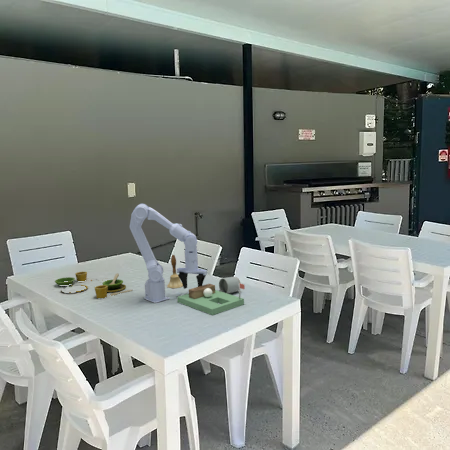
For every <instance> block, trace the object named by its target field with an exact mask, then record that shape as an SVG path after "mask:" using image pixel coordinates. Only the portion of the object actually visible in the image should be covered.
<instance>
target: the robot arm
mask: <svg viewBox="0 0 450 450" xmlns="http://www.w3.org/2000/svg"><path fill="white" fill-rule="evenodd" d="M130 216H131V217H130V221H129V230H130V232H131V234H132V236H133V238H134V242H135V243H136V245H137V247H138V250H139V252H140V253H141V256H142V259H143V260H144V263H145V266H146V270H147V273H148V275H147V277H148V279H147V280H146V281H145V284H144V295H145V296H144V297H143V299H144V300H147V301H148V302H152V303H153V304H156V303H160V302H164V301H166V300H169V299H170V297H168V296H166V286H165V285H166V284H165V278H164V276H163V274H164V267H163V266H162V265H161V264H160V263H159V262H158V260H157V258H156V257H155V254H154V252H153V250H152V247H151V245H150V243H149V241H148V238H147V237H146V234H145V233H144V230H143V228H142V226H143V223H144V221H145V220H146V219H147V220H149V221H156V222H157V223H158V224H160V225H161V226H163V227H164V228H166V229H167V230H169V234H170V235H171V236H172V237H174V238H175V239H177V240H178V241H179V242H182V243H183V245H184V265H185V266H184V267H178V268H176V274H177V275H178V276H179V278H180V281H181V282H182V284H183V289H184V290H186V289H187V288H188V274H192V275H196V276H195V278H196V280H197V287H199V286H203V285H204V281H205V278H206V276H207V275H208V270H207V269H201V268H199V263H198V259H199V258H198V246H197V245H198V239H197V236H196V234H194V233H193V232H191V230H187V229H186V228H184V227H183V224H181V223H173V222H171V221H170V220H169V219H167V218H166V217H165V216H164V215H162V213H159V212H158V211H157V210H155V209H154V208H152V207H150V206H148V205H147V204H146V203H139V204H138V205H136V206H135V208H134V209H133V211H132V213H131V214H130Z"/></svg>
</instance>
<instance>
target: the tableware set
mask: <svg viewBox="0 0 450 450" xmlns="http://www.w3.org/2000/svg"><path fill="white" fill-rule="evenodd" d="M87 274H88V272H87V271H79V272H78V271H77V272H76V273H74V275H75V277H71V276H69V277H66V276H65V277H60V278H57V279H55V280H54V283H55V284H56V285H57V286H58V285H69V284H72V283H73V284H74V282H75V281H85V280H86V281H87V279H88V277H87V276H88V275H87ZM118 277H120V275H119V273H118V272H117V273H115V274H114V277H113V279H110V280H107V281H103V282H101V283H102V284H101V285H96V287H95V286H94V292H95V296H96V299H98V298H103V299H106V298H107V297H108V293H107V292H113V293H109V294H110V295H111V296H110V295H109V296H110V297H113V295H114V296H117V295H119V294H120V293H121V294H125V293H129V292H133V291H134V290H133V289H127V290H125V289H126V287H127V285H126V284H124V280H123V279H118ZM64 281H68V282H64ZM73 284H72V285H73ZM80 285H81V286H85V287H86V289H84V290H85V291H87V290H88V288H89V286H88V285H86V284H80ZM84 290H81V291H83V292H85V291H84ZM118 291H119V292H118ZM76 292H80V291H76ZM69 293H71V292H69ZM80 293H81V292H80ZM105 297H106V298H105Z"/></svg>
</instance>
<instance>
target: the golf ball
mask: <svg viewBox="0 0 450 450" xmlns="http://www.w3.org/2000/svg"><path fill="white" fill-rule="evenodd" d="M203 294H204V296H205V297H210V296H212V290H211V289H210V288H206V289H205V290H204V292H203Z"/></svg>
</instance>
